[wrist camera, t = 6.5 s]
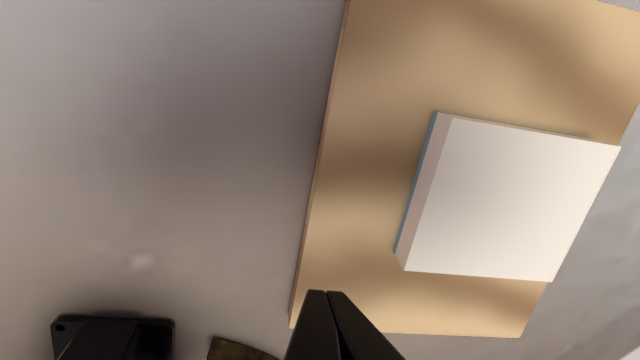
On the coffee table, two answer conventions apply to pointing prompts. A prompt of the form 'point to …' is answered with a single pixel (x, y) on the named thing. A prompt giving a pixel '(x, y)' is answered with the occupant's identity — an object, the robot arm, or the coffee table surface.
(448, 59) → the board
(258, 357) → the hand tool
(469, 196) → the tile
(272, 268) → the coffee table surface
